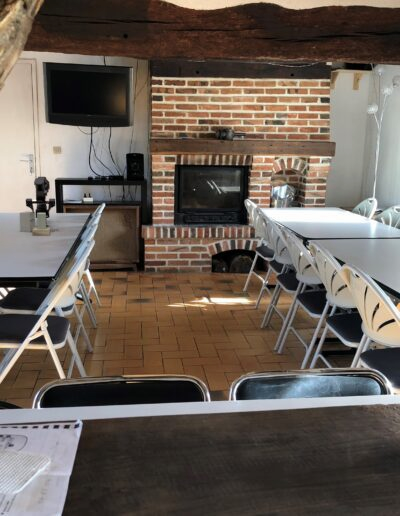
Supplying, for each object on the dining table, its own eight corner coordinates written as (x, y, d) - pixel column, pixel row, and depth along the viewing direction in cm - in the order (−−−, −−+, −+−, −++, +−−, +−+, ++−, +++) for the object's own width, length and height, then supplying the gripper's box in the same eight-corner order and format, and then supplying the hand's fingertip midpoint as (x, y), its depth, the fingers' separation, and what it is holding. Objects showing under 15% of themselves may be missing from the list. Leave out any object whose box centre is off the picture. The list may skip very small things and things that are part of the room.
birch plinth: (34, 233, 351) (34, 227, 350) (50, 233, 353) (50, 227, 352) (32, 236, 341) (32, 230, 340) (48, 236, 343) (48, 230, 342)
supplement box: (30, 232, 352) (29, 213, 349) (19, 231, 353) (19, 212, 351) (35, 230, 359) (35, 211, 356) (25, 229, 361) (24, 211, 358)
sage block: (37, 228, 348) (37, 212, 346) (45, 228, 349) (45, 212, 347) (37, 229, 343) (37, 213, 341) (46, 229, 345) (45, 213, 343)
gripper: (25, 186, 350) (25, 205, 342) (54, 186, 355) (55, 205, 347) (25, 196, 359) (26, 215, 351) (54, 196, 364) (55, 215, 356)
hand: (40, 212), depth 351 cm, fingers open, 9 cm apart
